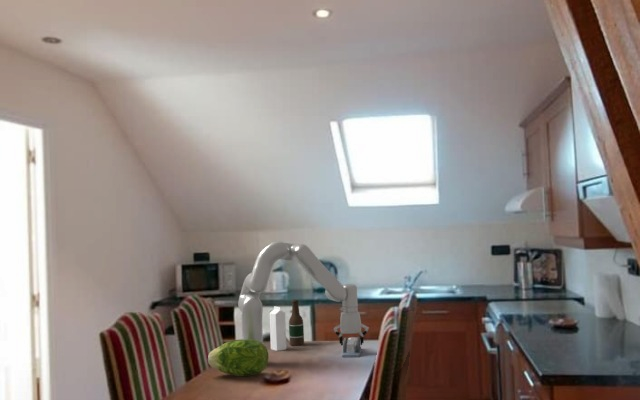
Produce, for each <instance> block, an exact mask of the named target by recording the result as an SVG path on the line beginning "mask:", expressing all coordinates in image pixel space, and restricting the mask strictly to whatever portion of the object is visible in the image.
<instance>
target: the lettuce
mask: <svg viewBox="0 0 640 400" xmlns="http://www.w3.org/2000/svg"><path fill="white" fill-rule="evenodd" d="M207 361H208V365H210V367H212V368H213V369H216V370H218V371H220V372H222V373H224V374H227V375H231V376H237V377H249V376H254V375H259V374H261V373H262V372H263V371H264V370H266V368H267V366H268V363H269V351H268V348H267V346H266V345H265V344H264V343H263V344H262V343H261V342H259V341H256V340H251V339H242V338H241V339H234V340H229V341H227V342H224V343H222V344H221V345H220V346H218V347H216V348H213V350H211V351H210V352H209V353H208V358H207Z"/></svg>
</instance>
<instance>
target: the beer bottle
mask: <svg viewBox="0 0 640 400" xmlns="http://www.w3.org/2000/svg"><path fill="white" fill-rule="evenodd" d="M299 302H300V301H299V299H292V300H291V305H292V306H291V307H292V309H291V316H290V318H289V320H288V332H289V334H288V335H289V346H291V347H300V346H304V345H305V329H304V319H303V317H302V315H301V313H300V307H299V306H300V305H299Z"/></svg>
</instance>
